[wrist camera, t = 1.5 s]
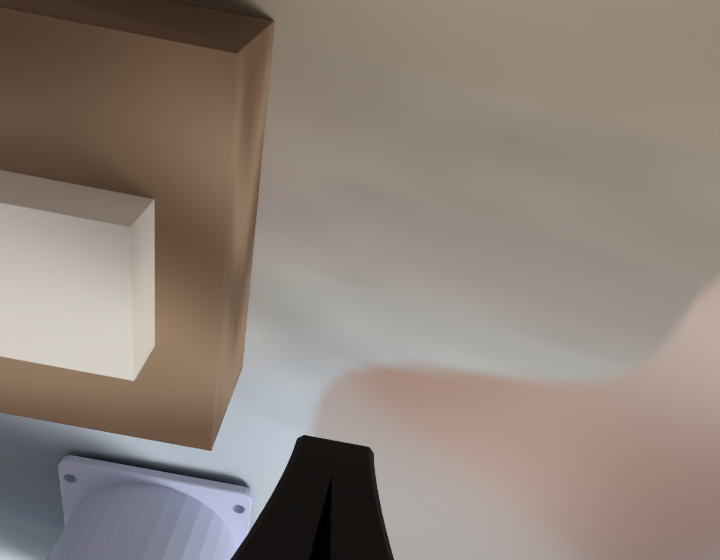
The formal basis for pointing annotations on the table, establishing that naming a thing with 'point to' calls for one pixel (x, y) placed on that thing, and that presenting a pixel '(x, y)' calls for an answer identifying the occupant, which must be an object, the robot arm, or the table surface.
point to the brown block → (146, 188)
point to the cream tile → (76, 276)
